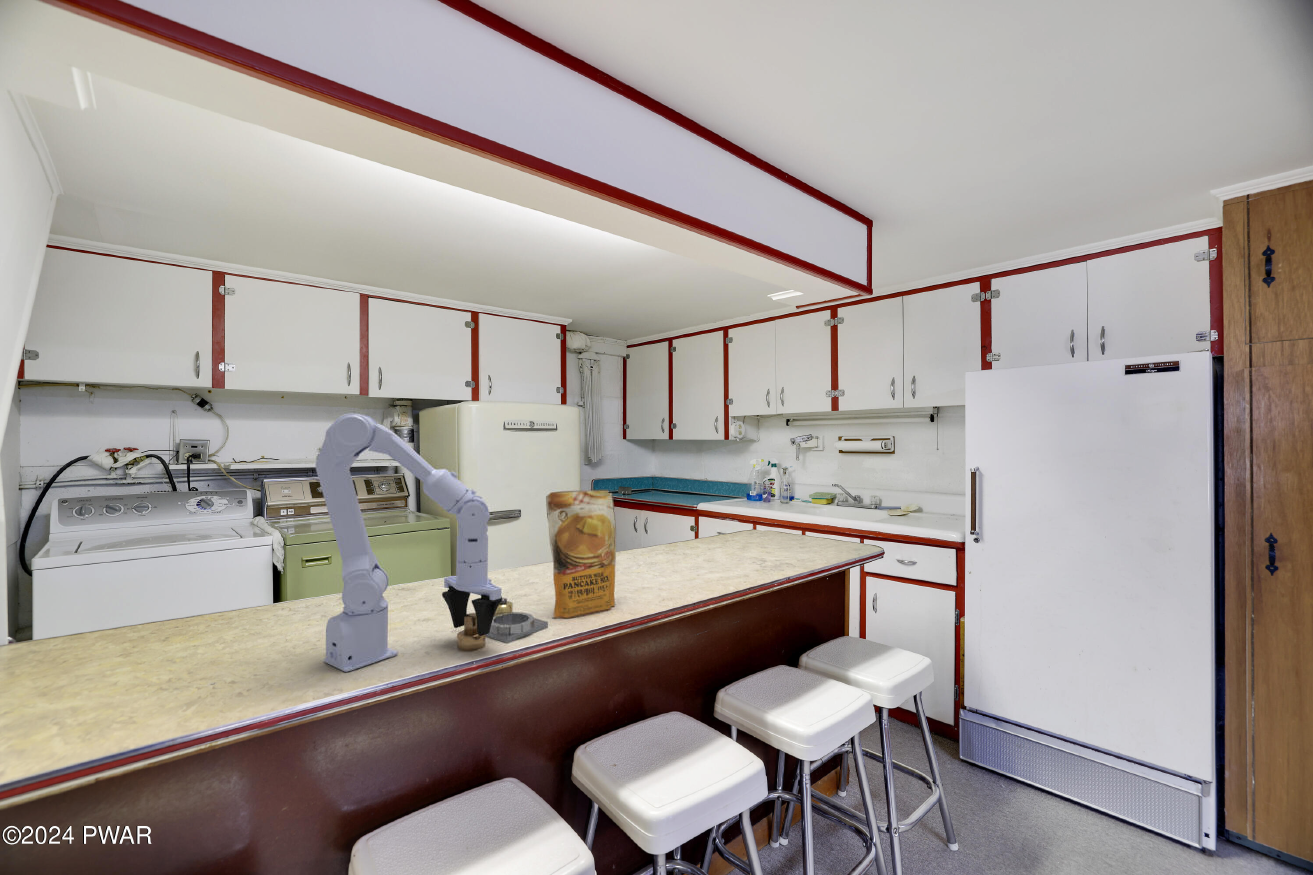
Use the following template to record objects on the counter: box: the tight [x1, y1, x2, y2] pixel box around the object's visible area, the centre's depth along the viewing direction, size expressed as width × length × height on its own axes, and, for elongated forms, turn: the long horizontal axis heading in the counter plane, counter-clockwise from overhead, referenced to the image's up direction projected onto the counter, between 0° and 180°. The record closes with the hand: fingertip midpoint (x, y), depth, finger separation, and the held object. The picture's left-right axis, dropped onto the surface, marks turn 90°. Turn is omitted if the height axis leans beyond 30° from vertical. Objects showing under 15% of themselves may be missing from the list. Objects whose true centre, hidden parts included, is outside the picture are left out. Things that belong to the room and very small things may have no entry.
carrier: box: [485, 597, 549, 644], centre depth 116 cm, size 11×14×5 cm
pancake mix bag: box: [545, 489, 617, 619], centre depth 128 cm, size 7×19×28 cm, turn 126°
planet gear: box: [456, 612, 486, 653], centre depth 106 cm, size 5×5×6 cm
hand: (471, 630), depth 106 cm, fingers open, 7 cm apart
